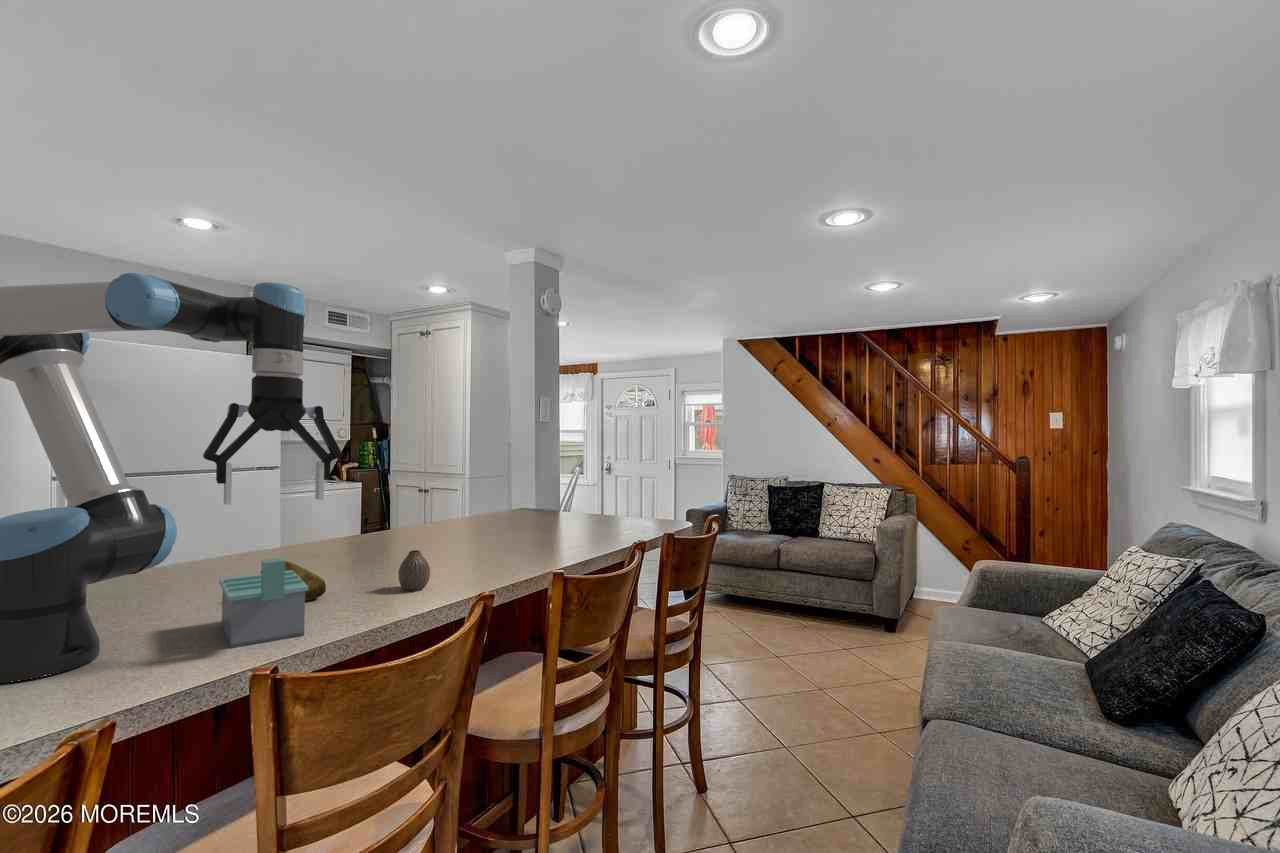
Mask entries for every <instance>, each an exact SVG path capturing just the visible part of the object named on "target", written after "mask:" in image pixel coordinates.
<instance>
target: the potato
mask: <svg viewBox="0 0 1280 853" xmlns="http://www.w3.org/2000/svg"><path fill="white" fill-rule="evenodd" d="M284 561H285V571H289V570H293V571H294V572H295V573H296V574H297V575H298V576H299V578H300V579H301V580H302V581H303V582H304V583H305V584H306V585H307V586H308V591H305V602H306V601H311V600H316V599H318V598H320V597H321V596H323V595H324V594H325V593H326V590H327V586H326V581H325V580H324V579H323V578H322V577H321V576H319V575H317V574H315V573H313V572H311V571H310V570H307V569H306V568H304V567H301V566H299V565H298V564H296V563H293V562H292V561H286V560H284ZM259 574H261V572H260V573H259Z"/></svg>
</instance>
